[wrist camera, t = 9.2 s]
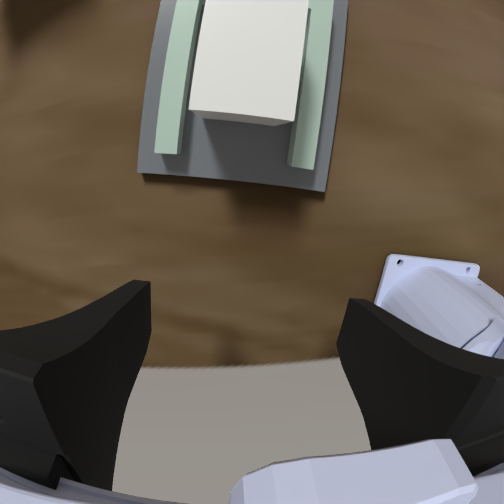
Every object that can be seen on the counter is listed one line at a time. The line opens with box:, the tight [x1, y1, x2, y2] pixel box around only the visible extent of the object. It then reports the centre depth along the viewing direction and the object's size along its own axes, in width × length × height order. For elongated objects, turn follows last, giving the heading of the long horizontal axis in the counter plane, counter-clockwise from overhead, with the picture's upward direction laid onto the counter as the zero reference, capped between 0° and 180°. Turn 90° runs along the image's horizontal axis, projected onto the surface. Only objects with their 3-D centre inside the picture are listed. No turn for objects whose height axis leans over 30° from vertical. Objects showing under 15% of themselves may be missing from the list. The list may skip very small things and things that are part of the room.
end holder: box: [137, 0, 348, 192], centre depth 16 cm, size 11×13×2 cm
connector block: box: [189, 0, 309, 126], centre depth 13 cm, size 4×6×6 cm, turn 173°
